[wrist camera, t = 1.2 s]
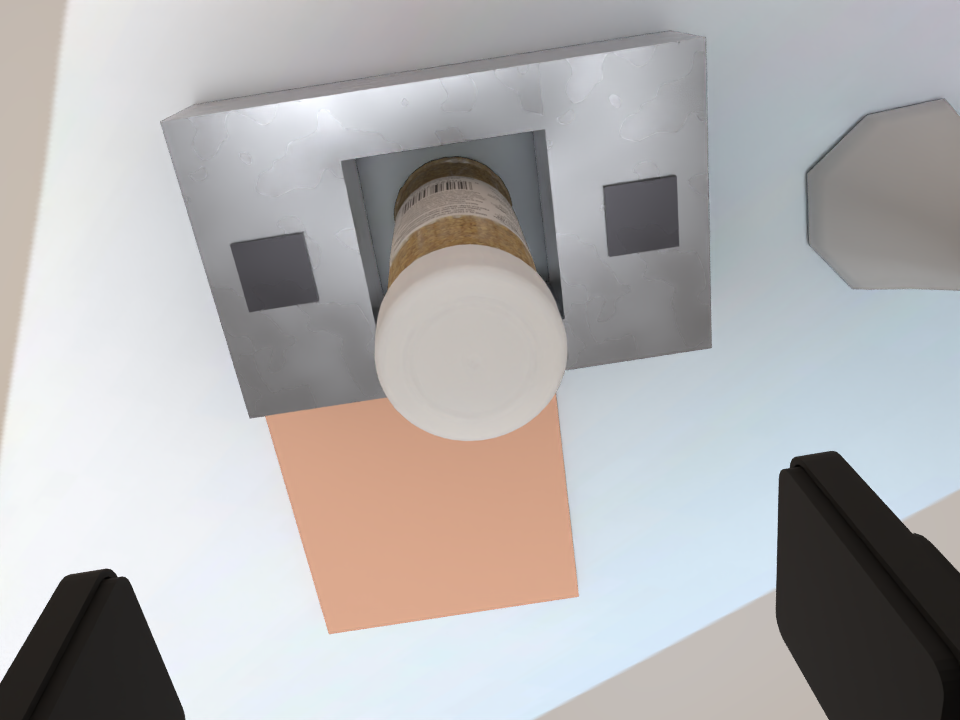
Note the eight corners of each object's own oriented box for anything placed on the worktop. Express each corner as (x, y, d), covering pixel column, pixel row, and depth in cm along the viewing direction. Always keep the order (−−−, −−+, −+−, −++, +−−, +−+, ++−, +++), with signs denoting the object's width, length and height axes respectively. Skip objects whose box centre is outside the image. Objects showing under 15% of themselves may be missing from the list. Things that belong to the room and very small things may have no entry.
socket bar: (670, 30, 28) (707, 37, 25) (680, 308, 33) (713, 350, 29) (194, 104, 28) (158, 122, 25) (269, 370, 33) (248, 420, 29)
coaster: (551, 365, 34) (553, 371, 33) (576, 587, 39) (578, 596, 38) (267, 408, 34) (265, 415, 33) (330, 624, 39) (329, 634, 38)
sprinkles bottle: (400, 274, 32) (383, 455, 19) (388, 157, 30) (360, 276, 17) (517, 265, 32) (571, 440, 20) (512, 148, 30) (569, 261, 18)
